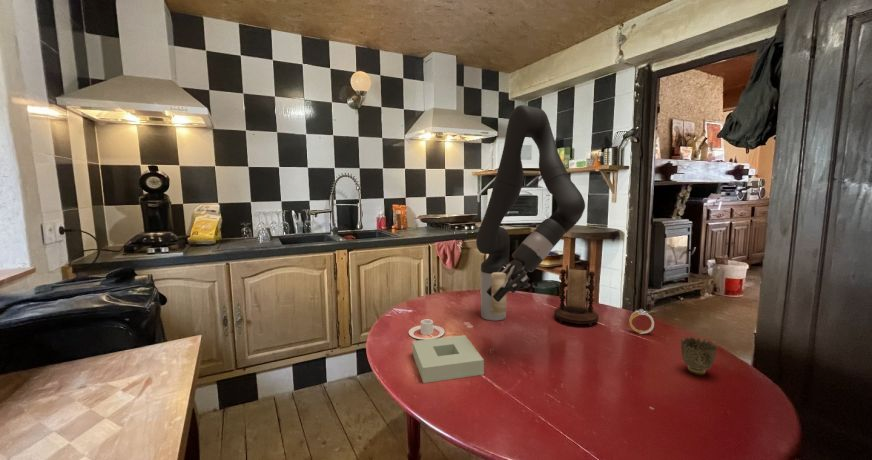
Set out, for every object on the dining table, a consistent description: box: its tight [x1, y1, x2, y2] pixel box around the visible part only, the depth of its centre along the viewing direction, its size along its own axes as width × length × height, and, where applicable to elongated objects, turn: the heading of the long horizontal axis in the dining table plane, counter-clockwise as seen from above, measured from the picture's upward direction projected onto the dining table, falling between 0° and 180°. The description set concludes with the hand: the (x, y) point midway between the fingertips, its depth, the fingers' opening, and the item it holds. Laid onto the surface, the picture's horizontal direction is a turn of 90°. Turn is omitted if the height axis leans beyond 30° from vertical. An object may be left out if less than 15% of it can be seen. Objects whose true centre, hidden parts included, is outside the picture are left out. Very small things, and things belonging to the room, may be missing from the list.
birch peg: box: [491, 272, 507, 315], centre depth 101 cm, size 4×4×11 cm
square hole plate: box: [411, 334, 485, 384], centre depth 100 cm, size 16×16×4 cm
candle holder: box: [408, 318, 445, 340], centre depth 121 cm, size 12×12×4 cm
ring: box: [628, 308, 655, 335], centre depth 117 cm, size 7×3×8 cm, turn 61°
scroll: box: [553, 264, 599, 327], centre depth 129 cm, size 15×15×20 cm
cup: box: [680, 336, 718, 376], centre depth 93 cm, size 8×7×8 cm
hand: (492, 296), depth 101 cm, fingers closed on birch peg, 4 cm apart
